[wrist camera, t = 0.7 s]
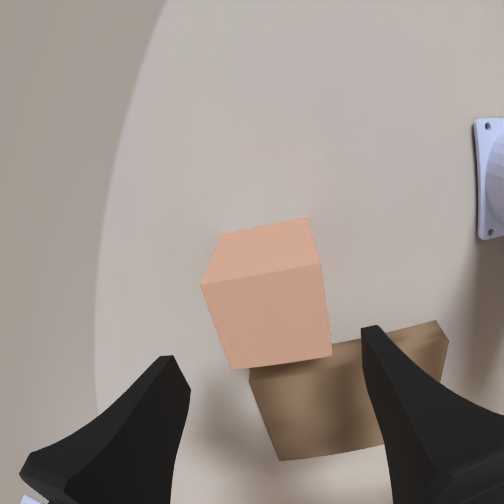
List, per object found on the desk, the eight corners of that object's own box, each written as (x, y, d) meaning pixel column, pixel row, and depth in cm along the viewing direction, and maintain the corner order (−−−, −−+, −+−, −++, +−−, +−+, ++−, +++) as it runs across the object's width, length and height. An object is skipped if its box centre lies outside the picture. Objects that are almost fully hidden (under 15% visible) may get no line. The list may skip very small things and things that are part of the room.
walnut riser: (435, 320, 20) (448, 340, 18) (418, 413, 24) (425, 432, 22) (251, 356, 22) (248, 381, 20) (280, 440, 27) (279, 460, 24)
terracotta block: (306, 217, 18) (320, 263, 12) (319, 291, 20) (332, 355, 14) (222, 234, 18) (199, 284, 13) (243, 305, 20) (231, 369, 15)
